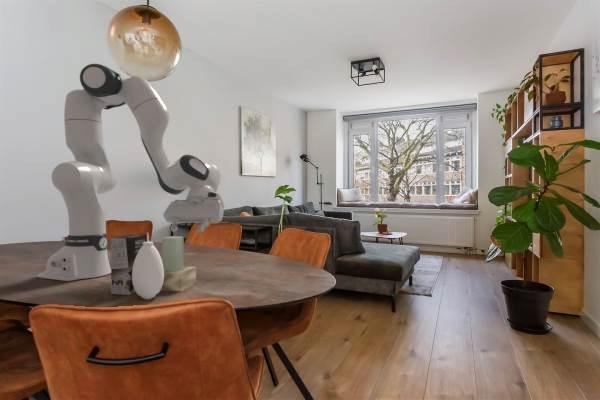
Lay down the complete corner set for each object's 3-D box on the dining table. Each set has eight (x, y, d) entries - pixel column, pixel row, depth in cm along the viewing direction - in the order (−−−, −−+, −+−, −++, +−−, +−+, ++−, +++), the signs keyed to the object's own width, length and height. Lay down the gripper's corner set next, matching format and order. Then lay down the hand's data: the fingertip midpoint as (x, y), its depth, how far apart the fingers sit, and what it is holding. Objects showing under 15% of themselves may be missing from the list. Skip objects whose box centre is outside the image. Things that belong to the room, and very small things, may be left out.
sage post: (162, 271, 105) (162, 238, 105) (170, 268, 109) (169, 236, 109) (176, 271, 104) (176, 238, 104) (183, 268, 109) (183, 236, 108)
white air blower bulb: (140, 305, 89) (139, 234, 89) (127, 298, 94) (126, 232, 94) (169, 298, 95) (168, 232, 95) (155, 292, 100) (155, 230, 100)
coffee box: (130, 295, 97) (129, 237, 97) (110, 294, 99) (109, 237, 98) (150, 286, 106) (150, 234, 106) (132, 285, 107) (131, 233, 107)
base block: (149, 290, 103) (148, 273, 103) (166, 281, 113) (166, 265, 112) (181, 291, 101) (181, 274, 101) (196, 282, 111) (196, 266, 111)
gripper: (169, 194, 124) (153, 223, 115) (224, 194, 121) (212, 224, 112) (175, 206, 129) (161, 235, 119) (228, 206, 126) (218, 237, 116)
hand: (186, 230), depth 115 cm, fingers open, 8 cm apart
